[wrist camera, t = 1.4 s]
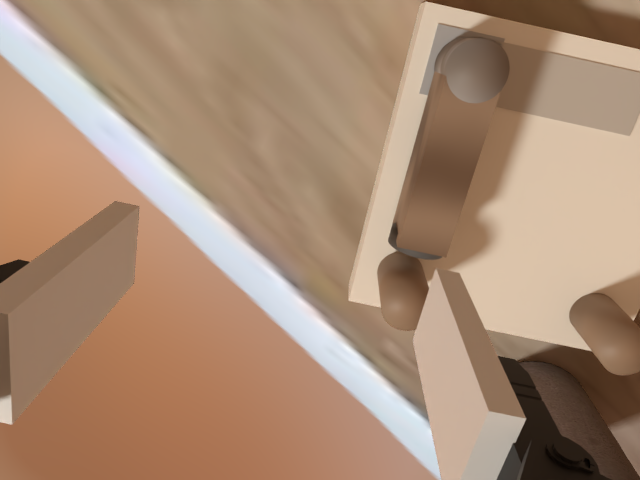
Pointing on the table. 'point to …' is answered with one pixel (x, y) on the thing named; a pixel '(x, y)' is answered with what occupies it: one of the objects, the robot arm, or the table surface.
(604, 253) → the stool seat
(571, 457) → the robot arm
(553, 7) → the table surface
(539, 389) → the pillar candle
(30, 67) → the table surface
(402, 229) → the folding leg
